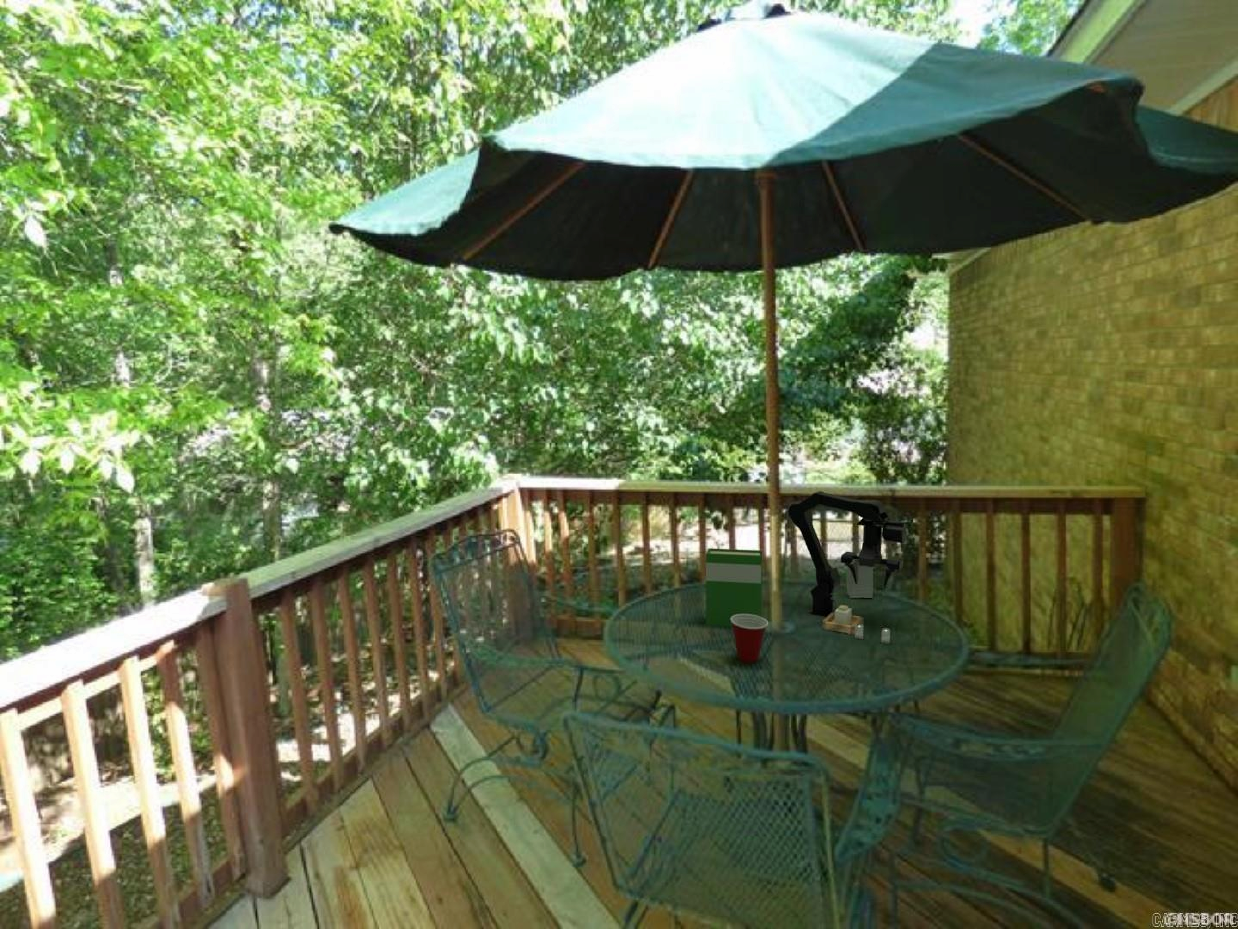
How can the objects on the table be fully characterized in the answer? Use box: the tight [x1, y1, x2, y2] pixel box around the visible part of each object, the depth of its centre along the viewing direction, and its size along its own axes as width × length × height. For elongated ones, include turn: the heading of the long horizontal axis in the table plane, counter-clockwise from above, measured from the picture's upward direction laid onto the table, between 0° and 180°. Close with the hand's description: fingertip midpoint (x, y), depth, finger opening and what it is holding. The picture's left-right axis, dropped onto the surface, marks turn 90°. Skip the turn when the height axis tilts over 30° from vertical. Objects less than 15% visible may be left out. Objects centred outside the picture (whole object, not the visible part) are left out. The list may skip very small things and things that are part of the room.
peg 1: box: [854, 624, 864, 640], centre depth 236 cm, size 2×2×4 cm
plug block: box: [834, 604, 853, 625], centre depth 246 cm, size 4×5×6 cm
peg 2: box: [880, 627, 891, 645], centre depth 232 cm, size 2×2×4 cm
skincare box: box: [846, 552, 874, 599], centre depth 276 cm, size 8×7×16 cm
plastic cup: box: [730, 614, 769, 664], centre depth 219 cm, size 11×11×12 cm
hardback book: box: [705, 547, 763, 628], centre depth 250 cm, size 18×7×24 cm, turn 78°
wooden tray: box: [821, 612, 864, 636], centre depth 246 cm, size 10×11×2 cm
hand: (870, 586), depth 250 cm, fingers open, 9 cm apart
